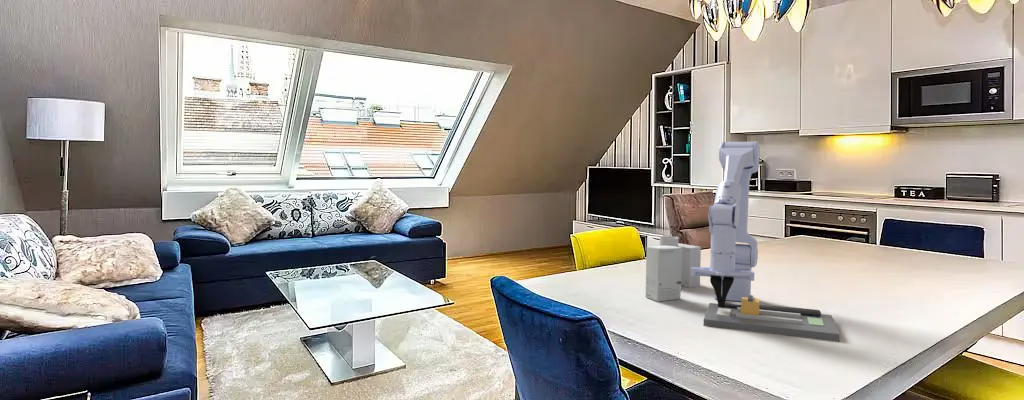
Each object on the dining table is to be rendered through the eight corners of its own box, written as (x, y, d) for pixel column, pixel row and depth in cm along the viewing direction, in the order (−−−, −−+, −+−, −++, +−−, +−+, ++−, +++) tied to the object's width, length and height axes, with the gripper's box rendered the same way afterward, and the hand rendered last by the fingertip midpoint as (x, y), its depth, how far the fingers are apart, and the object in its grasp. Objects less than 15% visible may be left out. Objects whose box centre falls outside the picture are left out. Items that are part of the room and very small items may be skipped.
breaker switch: (740, 315, 134) (741, 298, 134) (741, 310, 138) (741, 294, 137) (758, 317, 133) (759, 300, 132) (759, 312, 136) (759, 296, 136)
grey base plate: (703, 325, 132) (703, 314, 132) (709, 308, 147) (709, 298, 146) (839, 341, 121) (839, 328, 120) (831, 321, 135) (831, 310, 135)
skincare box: (657, 302, 153) (658, 248, 152) (644, 297, 159) (645, 245, 157) (681, 299, 156) (683, 246, 155) (668, 294, 162) (669, 243, 161)
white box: (700, 285, 173) (701, 237, 172) (668, 291, 165) (669, 241, 164) (669, 278, 183) (670, 233, 182) (638, 283, 176) (639, 236, 174)
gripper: (690, 252, 136) (688, 307, 137) (754, 257, 130) (752, 314, 131) (693, 248, 142) (692, 300, 144) (755, 252, 136) (753, 306, 138)
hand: (721, 306), depth 138 cm, fingers closed
